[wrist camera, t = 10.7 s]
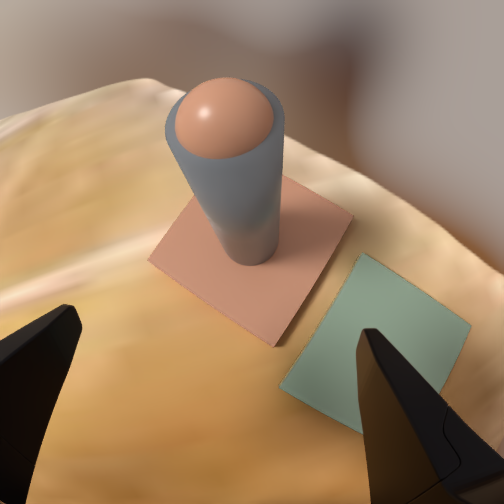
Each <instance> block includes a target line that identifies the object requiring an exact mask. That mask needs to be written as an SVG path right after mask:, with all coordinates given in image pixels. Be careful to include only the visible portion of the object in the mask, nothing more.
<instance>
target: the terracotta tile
mask: <svg viewBox="0 0 504 504" xmlns="http://www.w3.org/2000/svg"><path fill="white" fill-rule="evenodd" d="M353 217H354V216H353V215H352V214H350V213H348V212H347V211H345V210H343V209H342V208H340V207H338V206H337V205H335V204H333V203H332V202H330V201H328V200H327V199H325V198H323V197H321V196H320V195H318V194H316V193H314V192H313V191H311V190H309V189H307V188H306V187H304V186H302V185H300V184H298V183H297V182H295V181H293V180H291V179H289V178H287V177H286V176H284V175H282V189H281V208H280V226H279V241H278V246H277V249H276V251H275V252H274V254H273V255H272V256H271V257H270V258H269V259H268V260H267V261H265V262H264V263H261V264H258V265H254V266H245V265H241V264H238V263H236V262H234V261H233V260H232V259H231V258H230V257H229V256H228V255H227V254H226V252H225V250H224V248H223V247H222V245H221V243H220V241H219V239H218V237H217V236H216V234H215V232H214V230H213V228H212V226H211V225H210V223H209V221H208V219H207V217H206V215H205V213H204V212H203V210H202V208H201V206H200V204H199V202H198V200H197V198H196V197H195V195H194V196H193V197H192V199H191V200H190V201H189V203H188V204H187V205H186V207H185V208H184V209H183V211H182V212H181V213H180V215H179V216H178V218H177V219H176V220H175V222H174V223H173V224H172V226H171V227H170V229H169V230H168V231H167V233H166V234H165V235H164V237H163V238H162V240H161V241H160V243H159V244H158V245H157V247H156V248H155V250H154V251H153V253H152V254H151V255H150V257H149V258H148V261H149V262H150V263H152V264H153V265H154V266H156V267H157V268H158V269H160V270H161V271H162V272H164V273H165V274H167V275H168V276H169V277H171V278H172V279H173V280H175V281H176V282H178V283H179V284H180V285H182V286H183V287H185V288H186V289H187V290H189V291H190V292H192V293H193V294H194V295H196V296H197V297H199V298H200V299H202V300H203V301H204V302H206V303H207V304H209V305H210V306H212V307H213V308H215V309H216V310H217V311H219V312H220V313H222V314H223V315H225V316H226V317H228V318H229V319H231V320H232V321H234V322H235V323H237V324H238V325H240V326H241V327H243V328H244V329H246V330H247V331H249V332H250V333H252V334H253V335H255V336H257V337H258V338H260V339H261V340H263V341H264V342H266V343H267V344H269V345H271V346H272V347H274V346H275V344H276V343H277V341H278V340H279V338H280V337H281V335H282V334H283V332H284V331H285V329H286V328H287V326H288V325H289V323H290V322H291V320H292V318H293V317H294V315H295V314H296V312H297V311H298V309H299V307H300V306H301V304H302V303H303V301H304V300H305V298H306V296H307V295H308V293H309V292H310V290H311V288H312V287H313V285H314V283H315V282H316V280H317V278H318V277H319V275H320V274H321V272H322V270H323V269H324V267H325V265H326V264H327V262H328V260H329V258H330V257H331V255H332V253H333V252H334V250H335V248H336V247H337V245H338V243H339V241H340V240H341V238H342V236H343V234H344V233H345V231H346V229H347V227H348V226H349V224H350V222H351V220H352V218H353Z"/></svg>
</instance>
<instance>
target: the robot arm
mask: <svg viewBox="0 0 504 504" xmlns="http://www.w3.org/2000/svg"><path fill="white" fill-rule="evenodd" d="M81 332H82V323H81V321H80V318H79V316H78V313H77V311H76V309H75V307H74V306H72V305H67V304H63V305H61V306H59V307H57V308H55V309H54V310H52V311H50V312H48V313H47V314H45V315H43V316H41V317H40V318H38V319H36V320H34V321H33V322H31V323H29V324H27V325H26V326H24V327H22V328H21V329H19V330H17V331H16V332H14V333H12V334H10V335H9V336H7V337H5V338H4V339H2V340H0V501H2V502H3V503H5V504H26V499H27V495H28V491H29V487H30V483H31V479H32V475H33V472H34V468H35V464H36V461H37V457H38V454H39V451H40V447H41V444H42V441H43V438H44V435H45V432H46V429H47V426H48V423H49V420H50V418H51V415H52V412H53V409H54V407H55V404H56V401H57V399H58V396H59V393H60V391H61V388H62V386H63V383H64V381H65V378H66V376H67V373H68V371H69V368H70V365H71V362H72V359H73V356H74V353H75V350H76V347H77V344H78V341H79V338H80V335H81ZM356 368H357V387H358V403H359V410H360V416H361V423H362V430H363V437H364V444H365V452H366V460H367V469H368V478H369V487H370V498H371V504H504V459H503V458H502V457H501V456H500V455H499V454H498V453H497V452H496V451H495V450H493V449H492V448H491V447H490V446H489V445H488V444H487V443H486V442H485V441H484V440H483V439H481V438H480V437H479V436H478V435H477V434H476V433H475V432H474V431H473V430H472V429H471V428H470V427H469V426H468V425H467V424H466V423H465V422H464V421H463V420H462V419H461V418H460V417H459V416H458V415H457V413H456V412H455V411H454V410H453V409H452V408H451V407H450V406H448V404H447V402H446V401H445V400H444V399H443V398H442V397H441V396H440V395H439V394H438V393H437V391H436V390H435V389H434V388H433V387H432V386H431V385H430V384H429V383H428V382H427V381H426V380H425V378H424V377H423V376H422V375H421V374H420V373H419V372H418V371H417V370H416V369H415V368H414V367H413V366H412V365H411V363H410V362H409V361H408V360H407V359H406V358H405V357H404V356H403V355H402V354H401V353H400V352H399V351H398V350H397V349H396V348H395V347H394V345H393V344H392V343H391V342H390V341H389V340H388V339H387V338H386V337H385V336H384V335H383V334H382V333H381V332H380V331H379V330H378V329H377V328H364V329H363V330H362V331H361V334H360V338H359V341H358V344H357V348H356Z"/></svg>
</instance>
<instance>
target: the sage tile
mask: <svg viewBox="0 0 504 504" xmlns="http://www.w3.org/2000/svg"><path fill="white" fill-rule="evenodd" d="M364 328H377V329H378V330H379V331H380V332H381V333H382V334H383V335H384V336H385V337H386V338H387V339H388V340H389V341H390V342H391V343H392V344H393V345H394V347H395V348H396V349H397V350H398V351H399V352H400V353H401V354H402V355H403V356H404V357H405V358H406V359H407V360H408V361H409V362H410V363H411V365H412V366H413V367H414V368H415V369H416V370H417V371H418V372H419V373H420V374H421V375H422V376H423V377H424V378H425V380H426V381H427V382H428V383H429V384H430V385H431V386H432V387H433V388H434V389H435V390H436V391H437V393H438V394H439V393H440V391H441V389H442V387H443V386H444V384H445V382H446V380H447V378H448V376H449V374H450V372H451V370H452V368H453V366H454V364H455V362H456V360H457V358H458V355H459V353H460V351H461V349H462V347H463V344H464V342H465V340H466V337H467V335H468V333H469V330H470V328H471V325H470V324H468V323H467V322H465V321H464V320H463V319H461V318H460V317H459V316H457V315H456V314H454V313H453V312H451V311H450V310H449V309H447V308H446V307H444V306H443V305H441V304H440V303H439V302H437V301H436V300H434V299H433V298H431V297H430V296H428V295H427V294H425V293H424V292H423V291H421V290H420V289H418V288H417V287H415V286H414V285H412V284H411V283H409V282H408V281H406V280H405V279H403V278H402V277H400V276H399V275H397V274H396V273H394V272H392V271H391V270H389V269H388V268H386V267H385V266H383V265H382V264H380V263H379V262H377V261H375V260H374V259H372V258H371V257H369V256H368V255H366V254H364V253H363V252H362V253H361V254H360V255H359V256H358V258H357V260H356V262H355V264H354V265H353V267H352V269H351V271H350V273H349V274H348V276H347V278H346V280H345V281H344V283H343V285H342V287H341V288H340V290H339V292H338V293H337V295H336V297H335V298H334V300H333V302H332V304H331V305H330V307H329V309H328V310H327V312H326V313H325V315H324V317H323V318H322V320H321V322H320V323H319V325H318V326H317V328H316V330H315V331H314V333H313V334H312V336H311V338H310V339H309V341H308V342H307V344H306V345H305V347H304V348H303V350H302V351H301V353H300V355H299V356H298V358H297V359H296V361H295V362H294V364H293V365H292V367H291V368H290V369H289V371H288V372H287V374H286V375H285V377H284V378H283V380H282V381H281V383H280V384H279V388H280V389H282V390H284V391H285V392H287V393H289V394H290V395H292V396H294V397H295V398H297V399H299V400H300V401H302V402H304V403H306V404H307V405H309V406H311V407H313V408H314V409H316V410H318V411H320V412H321V413H323V414H325V415H327V416H329V417H331V418H332V419H334V420H336V421H338V422H340V423H342V424H344V425H346V426H347V427H349V428H351V429H353V430H355V431H357V432H359V433H361V434H363V430H362V423H361V416H360V410H359V403H358V387H357V368H356V348H357V344H358V341H359V338H360V334H361V331H362V330H363V329H364Z"/></svg>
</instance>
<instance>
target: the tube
mask: <svg viewBox="0 0 504 504" xmlns="http://www.w3.org/2000/svg"><path fill="white" fill-rule="evenodd" d="M165 136H166V140H167V143H168V145H169V147H170V149H171V151H172V153H173V155H174V157H175V159H176V161H177V162H178V164H179V166H180V168H181V170H182V172H183V174H184V176H185V178H186V180H187V181H188V183H189V185H190V187H191V189H192V191H193V193H194V195H195V197H196V198H197V200H198V202H199V204H200V206H201V208H202V210H203V212H204V213H205V215H206V217H207V219H208V221H209V223H210V225H211V226H212V228H213V230H214V232H215V234H216V236H217V237H218V239H219V241H220V243H221V245H222V247H223V248H224V250H225V252H226V254H227V255H228V256H229V257H230V258H231V259H232V260H233V261H234V262H236V263H238V264H241V265H245V266H254V265H258V264H261V263H264V262H265V261H267V260H268V259H269V258H270V257H271V256H272V255H273V254H274V252H275V251H276V249H277V246H278V241H279V226H280V208H281V189H282V168H283V146H284V111H283V107H282V105H281V103H280V101H279V100H278V98H277V97H276V96H275V95H274V94H273V93H272V92H271V91H270V90H269V89H267V88H266V87H264V86H262V85H260V84H258V83H255V82H252V81H248V80H243V79H236V78H216V79H212V80H209V81H206V82H204V83H202V84H200V85H198V86H197V87H195V88H194V89H192V90H191V91H189V92H188V93H186V94H185V95H184V96H183V97H181V98H180V99H179V100H178V101H177V103H176V104H175V105H174V106H173V108H172V109H171V111H170V113H169V115H168V117H167V120H166V125H165Z"/></svg>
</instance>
